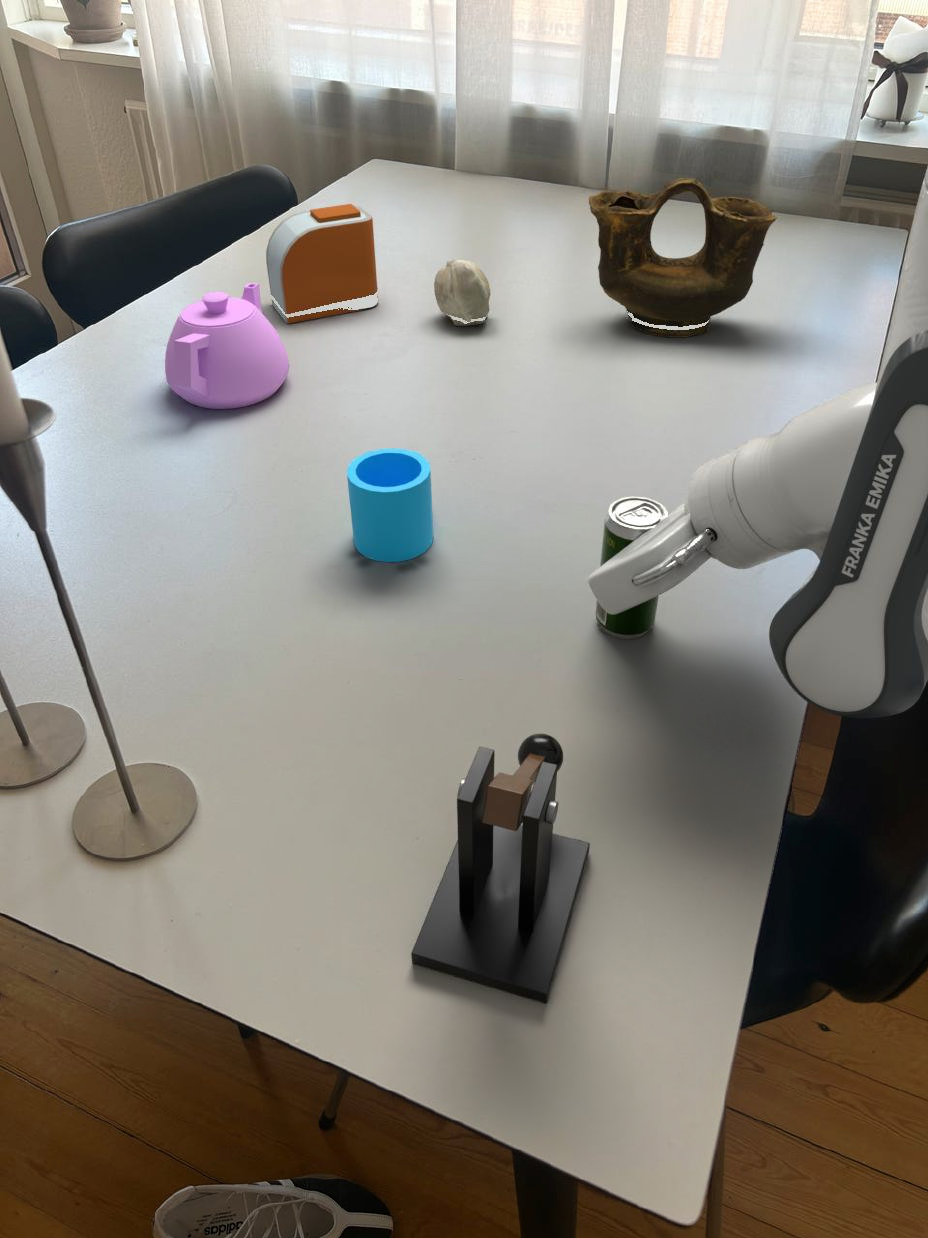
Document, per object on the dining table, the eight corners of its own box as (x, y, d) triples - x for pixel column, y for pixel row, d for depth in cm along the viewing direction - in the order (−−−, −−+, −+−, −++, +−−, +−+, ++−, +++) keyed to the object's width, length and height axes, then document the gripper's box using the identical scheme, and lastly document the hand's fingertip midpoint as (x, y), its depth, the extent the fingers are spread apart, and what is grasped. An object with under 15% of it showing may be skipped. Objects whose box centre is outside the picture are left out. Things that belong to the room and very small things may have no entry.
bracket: (469, 822, 71) (467, 697, 63) (589, 853, 69) (603, 728, 61) (411, 964, 62) (401, 841, 54) (546, 1004, 60) (557, 883, 52)
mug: (414, 569, 95) (410, 498, 90) (339, 552, 97) (331, 482, 92) (458, 506, 103) (457, 438, 98) (389, 492, 106) (384, 425, 101)
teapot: (252, 432, 116) (236, 337, 108) (135, 418, 119) (111, 324, 112) (317, 355, 133) (307, 268, 125) (213, 345, 136) (197, 259, 128)
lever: (520, 766, 70) (527, 724, 70) (562, 776, 69) (570, 734, 69) (472, 827, 58) (480, 776, 57) (523, 840, 57) (532, 789, 56)
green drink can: (615, 648, 86) (629, 537, 78) (583, 613, 89) (593, 504, 82) (665, 630, 87) (683, 520, 80) (632, 597, 91) (646, 489, 83)
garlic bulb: (484, 344, 140) (496, 289, 132) (427, 335, 140) (435, 279, 131) (488, 301, 145) (499, 245, 137) (432, 292, 145) (440, 235, 136)
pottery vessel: (577, 334, 137) (587, 187, 124) (583, 304, 145) (592, 163, 133) (757, 345, 134) (786, 195, 121) (753, 314, 142) (780, 170, 129)
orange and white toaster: (363, 287, 152) (356, 197, 143) (382, 306, 146) (376, 213, 137) (271, 303, 147) (258, 211, 138) (287, 324, 141) (274, 228, 132)
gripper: (693, 608, 67) (572, 650, 79) (826, 489, 79) (704, 541, 90) (646, 531, 67) (532, 585, 78) (788, 423, 78) (670, 483, 90)
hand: (625, 560), depth 84 cm, fingers closed on green drink can, 5 cm apart
